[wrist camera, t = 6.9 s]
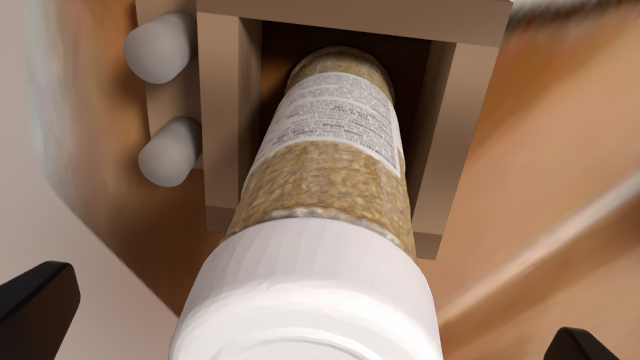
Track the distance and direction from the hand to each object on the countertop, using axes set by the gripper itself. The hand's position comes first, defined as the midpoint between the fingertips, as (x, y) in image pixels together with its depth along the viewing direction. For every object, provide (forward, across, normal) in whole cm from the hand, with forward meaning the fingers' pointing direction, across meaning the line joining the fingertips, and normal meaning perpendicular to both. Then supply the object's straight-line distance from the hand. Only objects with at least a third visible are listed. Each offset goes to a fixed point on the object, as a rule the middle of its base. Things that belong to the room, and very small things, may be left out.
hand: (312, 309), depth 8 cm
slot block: (+12, 0, 0) cm, 12 cm away
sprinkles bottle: (+12, 0, 0) cm, 12 cm away
